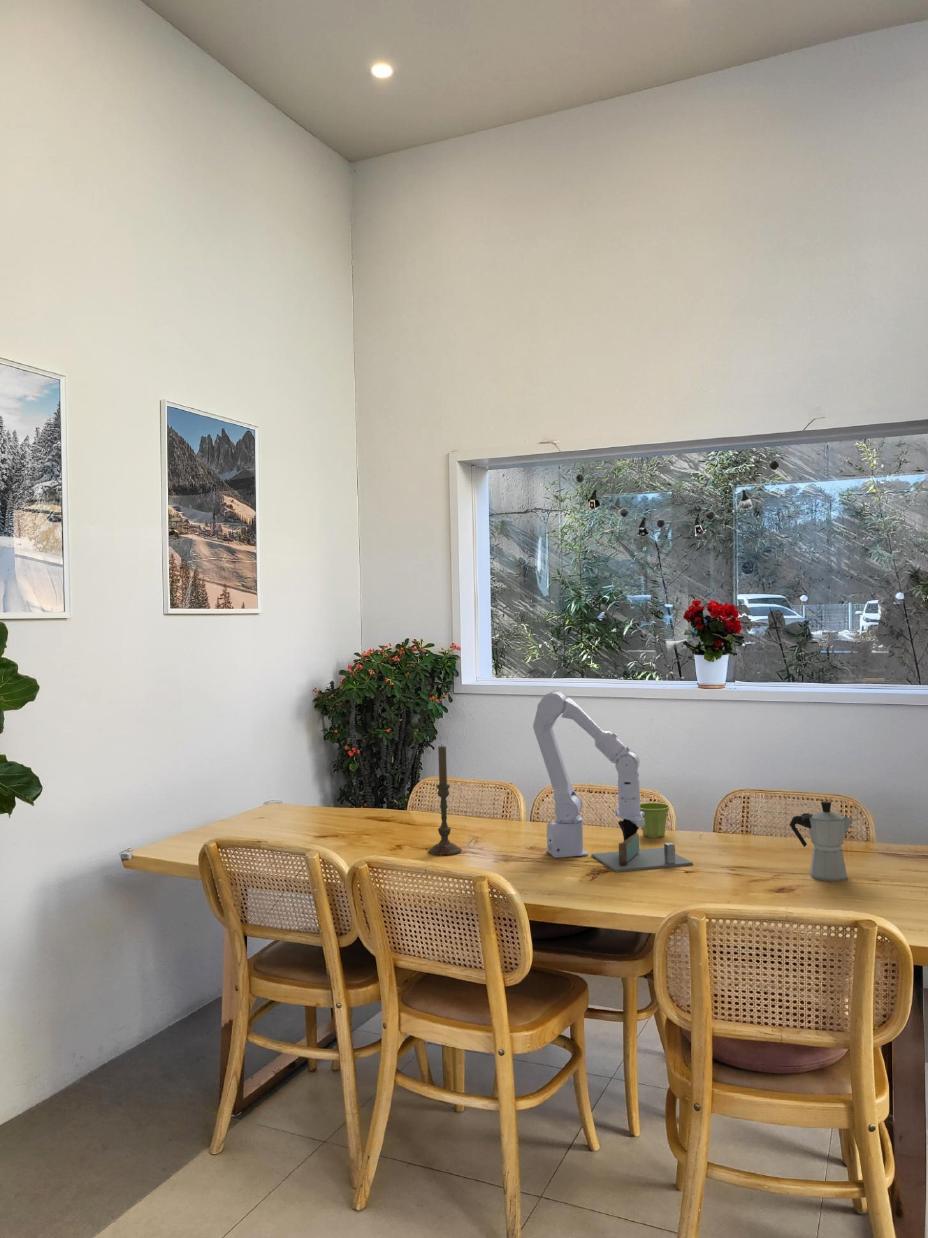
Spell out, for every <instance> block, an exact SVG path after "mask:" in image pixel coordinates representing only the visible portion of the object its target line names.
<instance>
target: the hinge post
mask: <svg viewBox="0 0 928 1238" xmlns="http://www.w3.org/2000/svg"><path fill="white" fill-rule="evenodd" d="M618 851H619V865H620V866H627V844H626V843H623V842H619V843H618Z"/></svg>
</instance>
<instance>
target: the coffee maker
mask: <svg viewBox="0 0 928 1238" xmlns="http://www.w3.org/2000/svg"><path fill="white" fill-rule="evenodd" d="M820 805H821V808H822V811H819V812H813V813H810V812H803V813H802V814H801V815H795V816H793V817H792V818H791V820H790V822H789V826H790V828H791V830H792V831H793V832H794V834H795V835H796V837H797V839H798V840H799V841H800V843H801V845H802V846H803V848H805V847H806V846H807V845H808V843H807V842H806V840H805V839H804V837H803V836H802V834H801V833H800V831H799V830H798V828H797V827H796V825H799V826H802V827H805V828H808V829H809V834H810V840H811V843H812V844H813V848H812V856H811V862H810V870H809V875H810V877H811V879H814V880H819V881H823V882H842V881H845V880H848V873H847V867H846V863H845V860H844V852H843V850H842V845H843V844H844V843H845V842H844V840H845V835H846V834H847V831H848V830H849V828H850V826H851V824H852V823H853V822H854V821H856V820H855V818H850V817H847V816H845V815H841V814H838V813H835V812H832V811H831V806H832V802H831V801H828V800H827V801H826V800H825V801H821V802H820ZM841 880H842V881H841Z"/></svg>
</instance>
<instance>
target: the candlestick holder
mask: <svg viewBox="0 0 928 1238" xmlns="http://www.w3.org/2000/svg"><path fill="white" fill-rule="evenodd" d="M437 748H438V749H437V751H438V784H436V789H437V790H438V791H437V796H438V797H439V798H440V803H439V808H440V809H441V810H440V812H441V813H440V816H441V817H440V818H441V825H440V827H439V828H438V829H437V831H438V834H439V836H440V839H441V840H440V841H439V842H438V843H435V845H433V846H432V847H430V848H429V849H428V853H429V854H430V855H432V856H437V857H448V856H455V855H459V854H461V852H462V848H461V847H459V846H457V844H455V843H452V842H451V840H449V836H450V834H451V827H449V825H448V822H447V820H448V819H447V817H448V814H447V809H448V803H447V802H448V801H447V797H449V795H450V791H449V789H450V788H451V786H450V784H448V773H447V771H448V770H447V767H448V766H447V765H448V764H447V746H446V745H443V744H442V743H441V744H440V746H438V747H437Z"/></svg>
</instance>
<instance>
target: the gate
mask: <svg viewBox="0 0 928 1238" xmlns="http://www.w3.org/2000/svg"><path fill="white" fill-rule="evenodd" d="M622 843H626V844H627V862H628V861H629V860H630V859H631V858H633V857H634V856H635V855H636V854H637V853H638V852H639V850H640V834H639V833H638V832H637V833H634V834H633V835H632V836H630V837H629V838H628V839H627V840H625V841H624V840H623V841H622Z"/></svg>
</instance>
